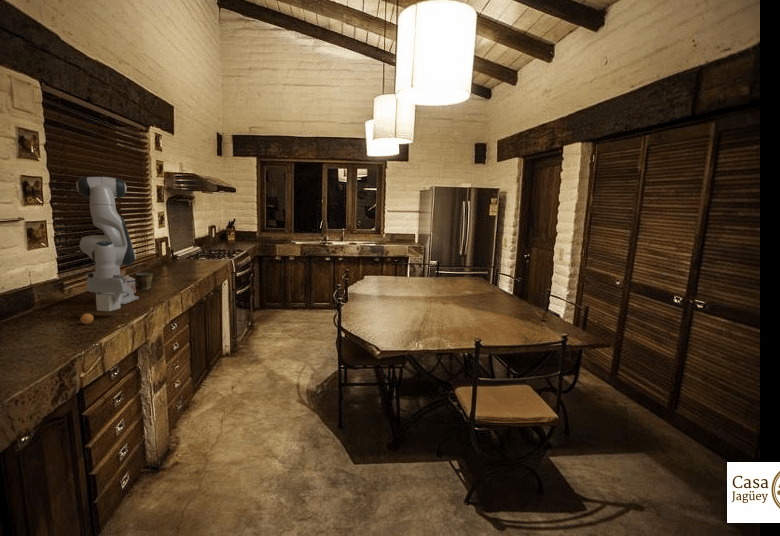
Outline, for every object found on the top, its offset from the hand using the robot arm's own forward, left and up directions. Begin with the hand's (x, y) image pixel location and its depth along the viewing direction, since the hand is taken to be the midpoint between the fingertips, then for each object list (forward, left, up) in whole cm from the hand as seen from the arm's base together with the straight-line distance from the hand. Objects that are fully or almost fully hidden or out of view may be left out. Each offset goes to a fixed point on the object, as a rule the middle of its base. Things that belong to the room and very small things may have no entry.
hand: (108, 301), depth 207 cm
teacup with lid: (-50, -32, -8) cm, 60 cm away
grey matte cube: (0, 0, -4) cm, 4 cm away
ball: (+13, 0, -6) cm, 14 cm away
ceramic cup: (-65, -34, -8) cm, 74 cm away
